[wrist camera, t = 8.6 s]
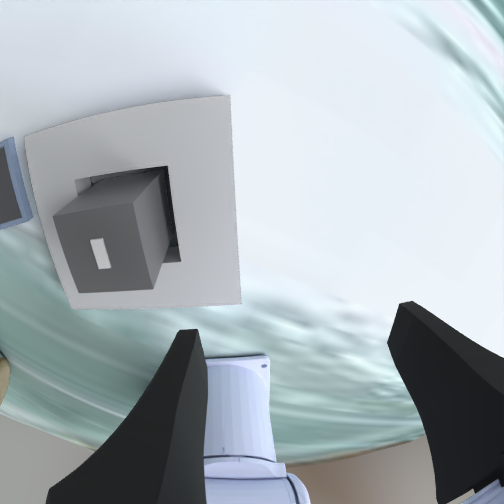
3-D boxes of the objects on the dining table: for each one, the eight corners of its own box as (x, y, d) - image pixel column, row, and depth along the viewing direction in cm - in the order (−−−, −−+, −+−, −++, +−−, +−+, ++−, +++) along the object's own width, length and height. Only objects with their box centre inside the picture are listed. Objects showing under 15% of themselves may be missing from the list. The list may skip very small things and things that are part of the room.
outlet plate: (239, 285, 20) (241, 304, 18) (81, 292, 19) (71, 309, 17) (229, 96, 14) (230, 95, 12) (41, 132, 13) (23, 136, 12)
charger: (173, 232, 18) (153, 290, 12) (115, 239, 17) (77, 294, 12) (163, 169, 16) (132, 203, 10) (101, 179, 15) (51, 217, 10)
